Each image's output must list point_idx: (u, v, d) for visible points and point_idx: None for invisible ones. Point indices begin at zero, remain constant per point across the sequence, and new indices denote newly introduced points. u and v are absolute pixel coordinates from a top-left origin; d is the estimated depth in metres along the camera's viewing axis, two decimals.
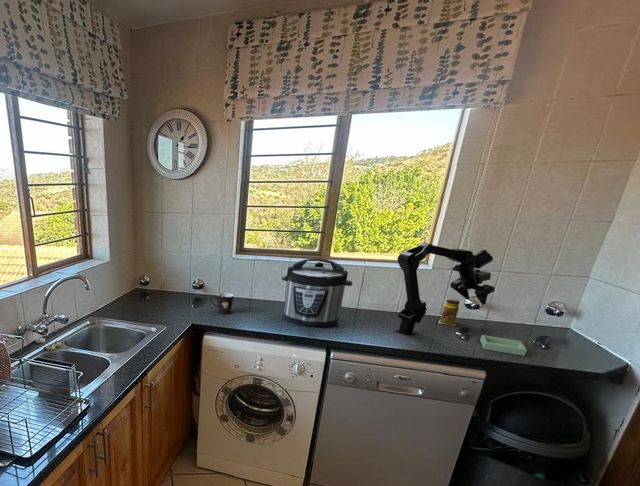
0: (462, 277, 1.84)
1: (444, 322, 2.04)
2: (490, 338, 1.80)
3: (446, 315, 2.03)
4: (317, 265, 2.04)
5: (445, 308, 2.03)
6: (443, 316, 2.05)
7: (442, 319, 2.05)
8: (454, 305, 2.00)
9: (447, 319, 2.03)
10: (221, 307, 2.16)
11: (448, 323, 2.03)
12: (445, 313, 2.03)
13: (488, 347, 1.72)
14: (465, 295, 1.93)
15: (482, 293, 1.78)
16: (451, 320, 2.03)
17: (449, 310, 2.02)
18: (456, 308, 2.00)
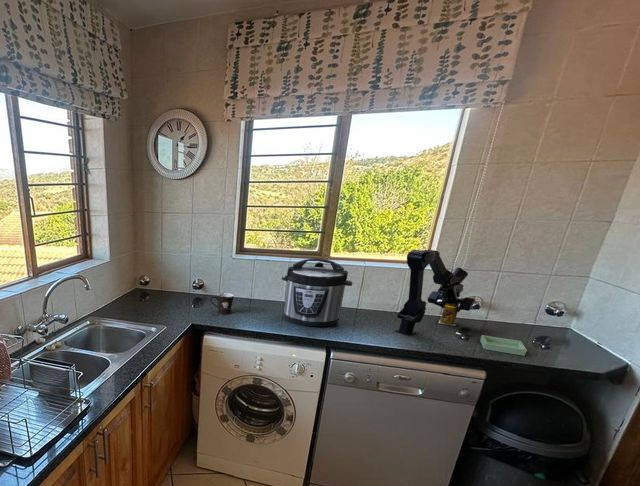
0: (446, 296, 1.95)
1: (444, 322, 2.04)
2: (490, 338, 1.80)
3: (446, 315, 2.03)
4: (317, 265, 2.04)
5: (445, 308, 2.03)
6: (443, 316, 2.05)
7: (442, 319, 2.05)
8: (454, 305, 2.00)
9: (447, 319, 2.03)
10: (221, 307, 2.16)
11: (448, 323, 2.03)
12: (445, 313, 2.04)
13: (488, 347, 1.72)
14: None
15: (468, 307, 1.92)
16: (451, 320, 2.03)
17: (449, 310, 2.02)
18: None
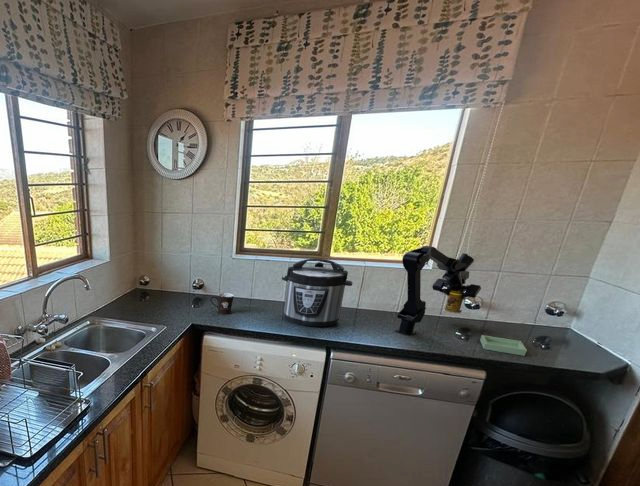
0: (451, 282, 1.92)
1: (449, 310, 2.01)
2: (490, 338, 1.80)
3: (451, 303, 2.00)
4: (317, 265, 2.04)
5: (450, 295, 2.00)
6: (448, 304, 2.02)
7: (447, 307, 2.02)
8: (459, 292, 1.97)
9: (452, 307, 2.00)
10: (221, 307, 2.16)
11: (453, 311, 2.00)
12: (450, 301, 2.00)
13: (488, 347, 1.72)
14: None
15: (474, 294, 1.89)
16: (456, 308, 1.99)
17: (454, 297, 1.99)
18: None
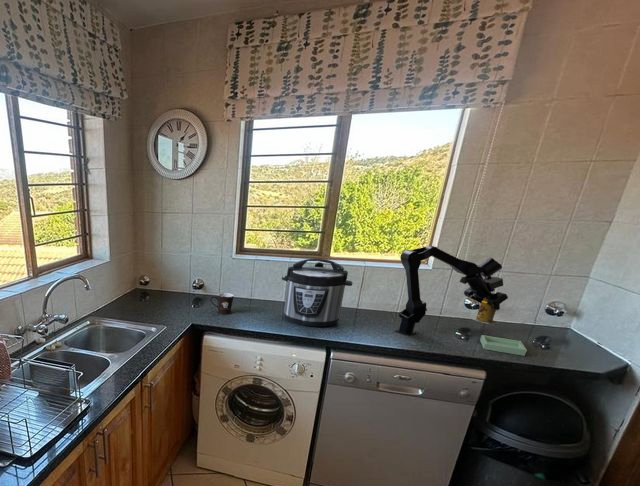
0: (472, 288, 1.82)
1: (477, 319, 1.88)
2: (490, 338, 1.80)
3: (480, 311, 1.86)
4: (317, 265, 2.04)
5: (481, 303, 1.87)
6: (478, 312, 1.88)
7: (477, 315, 1.89)
8: None
9: (480, 316, 1.87)
10: (221, 307, 2.16)
11: (481, 320, 1.87)
12: (479, 309, 1.87)
13: (488, 347, 1.72)
14: None
15: (494, 302, 1.76)
16: (485, 317, 1.85)
17: (483, 306, 1.85)
18: None
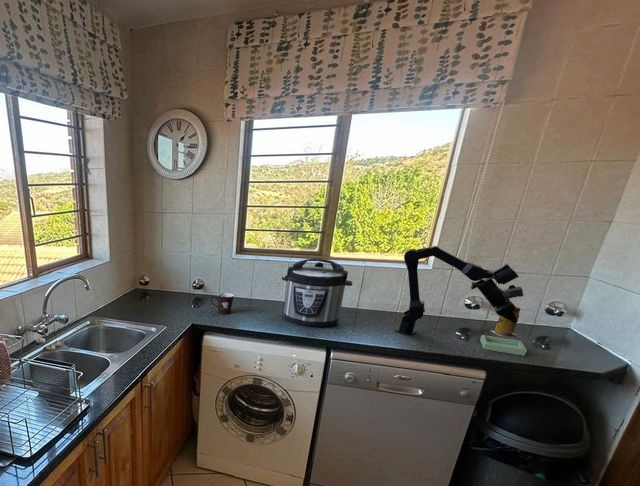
0: None
1: None
2: (490, 338, 1.80)
3: None
4: (317, 265, 2.04)
5: None
6: None
7: None
8: None
9: (496, 327, 1.73)
10: (221, 307, 2.16)
11: (496, 332, 1.73)
12: (498, 320, 1.73)
13: (488, 347, 1.72)
14: None
15: (497, 311, 1.65)
16: (500, 329, 1.71)
17: (500, 316, 1.71)
18: None
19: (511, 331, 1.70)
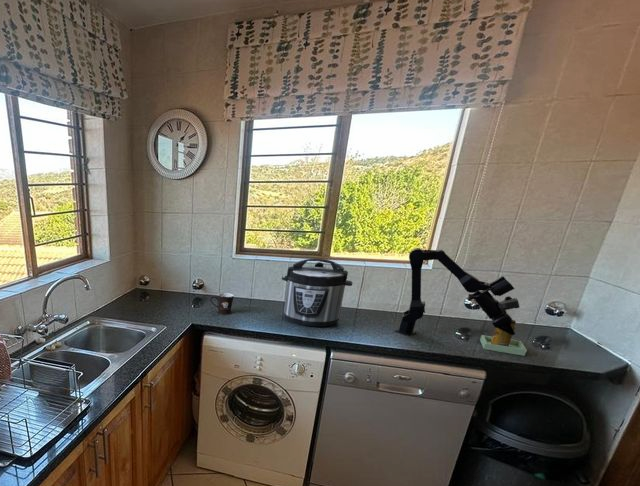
0: (480, 306, 1.74)
1: (491, 342, 1.76)
2: (490, 338, 1.80)
3: (493, 335, 1.75)
4: (317, 265, 2.04)
5: None
6: None
7: None
8: None
9: (493, 339, 1.75)
10: (221, 307, 2.16)
11: None
12: (494, 333, 1.75)
13: (488, 347, 1.72)
14: None
15: (493, 323, 1.66)
16: (496, 341, 1.73)
17: (496, 329, 1.73)
18: None
19: (507, 343, 1.72)
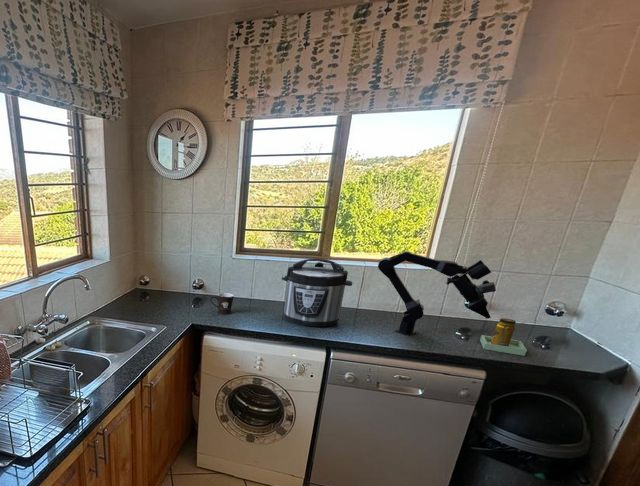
0: (458, 290, 1.77)
1: (491, 342, 1.76)
2: (490, 338, 1.80)
3: (493, 335, 1.75)
4: (317, 265, 2.04)
5: None
6: None
7: None
8: (501, 324, 1.71)
9: (493, 339, 1.75)
10: (221, 307, 2.16)
11: None
12: (494, 333, 1.75)
13: (488, 347, 1.72)
14: None
15: (470, 306, 1.69)
16: (496, 341, 1.73)
17: (496, 329, 1.73)
18: (503, 328, 1.70)
19: (507, 343, 1.72)
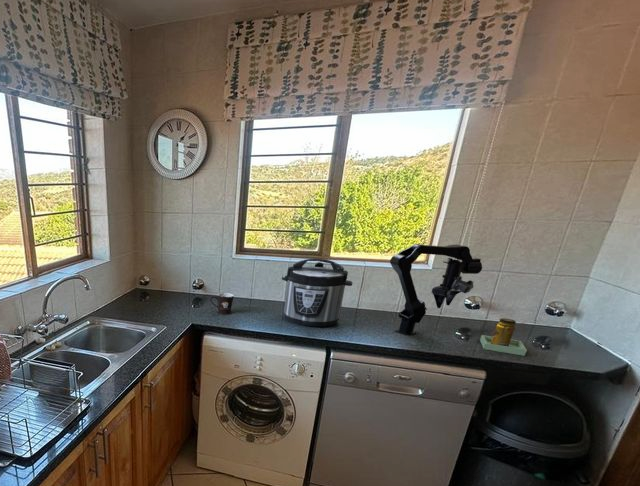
0: None
1: (491, 342, 1.76)
2: (490, 338, 1.80)
3: (493, 335, 1.75)
4: (317, 265, 2.04)
5: None
6: None
7: None
8: (501, 324, 1.71)
9: (493, 339, 1.75)
10: (221, 307, 2.16)
11: None
12: (494, 333, 1.75)
13: (488, 347, 1.72)
14: (447, 299, 1.90)
15: (433, 288, 1.82)
16: (496, 341, 1.73)
17: (496, 329, 1.73)
18: (503, 328, 1.70)
19: (507, 343, 1.72)
